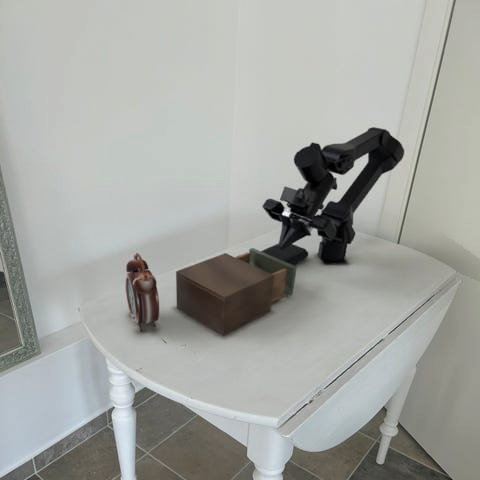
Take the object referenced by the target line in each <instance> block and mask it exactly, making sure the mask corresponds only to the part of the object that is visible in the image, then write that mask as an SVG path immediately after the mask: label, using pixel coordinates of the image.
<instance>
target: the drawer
mask: <svg viewBox="0 0 480 480" xmlns="http://www.w3.org/2000/svg"><path fill="white" fill-rule="evenodd" d="M261 251H262V250H259V249H256V248H253V247H252V248H251V247H250V248H249V252H245V253H242V254H239V255H237V256H234V257H235V258H237V259H239V260H242V261H244V262H246V263H248V264H250V265H253V266H255V267H257V268H259V269H261V270H264V271H266V272H268V273H270V274H272V275H274V278H273V288H272V298H271V303H273V302H275V301H277V300H279V299H281V298H282V297H285V295H286V296H288V297H291V296H293V295H294V288H295V282H296V273H297V266H296V265H295V264H294V265H292V264H289V263H287V262H285V261H282V260H280V259H278V258H275V257H273V256H270V255H268V254H266V253H263V252H261Z"/></svg>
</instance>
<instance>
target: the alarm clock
mask: <svg viewBox="0 0 480 480" xmlns="http://www.w3.org/2000/svg"><path fill="white" fill-rule="evenodd" d="M125 267H126V268H125V271H126V276H125V281H124V283H125V295H126V302H127V306H128V310H129V314H130V317H131V320H132V321H133V322H134V323H135V324H136V325H138V328H139V332H142V331H143V329H142V324H150V323H152V326H153V327H154V328H156V322H157V321H158V320H159V318H160V297H159V291H158V287H157V280H156V278H155V276H154V275H153V273H152V272H151V270H150V269H149V265H148V263H147V261H146V260H144V259H143V258H142V256H141V255H140V254H139V253H137V252H136V253H135V255H133V259H131V260H129V261H128V262H127V263H126V266H125Z"/></svg>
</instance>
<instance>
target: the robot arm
mask: <svg viewBox="0 0 480 480" xmlns="http://www.w3.org/2000/svg"><path fill="white" fill-rule="evenodd" d="M365 155H367V158H368V159H367V163H366V164H365V166H364V167H363V169H362V170H361V171H360V172H359V174H358V175H357V177H356V178H355V179H354V181H352V183H351V184H350V186H349V187H348V189H347V190H346V191H345V193H344V194H343V195H342V196H341V198H340V199H339V200H338V201H334V200H330V201H328V202H327V204H326V205H325V206H324V202H325V200H326V199H327V197H328V195H329V194H330V192H331V191H332V190H335V191H337V190H338V183H337V179H338V178H337V177H335V176H334V175H333V174H337V175H341V176H345V175H346V174H347V173H348V172H349V171H351V170H352V169H353V168H354V166H355V162H356V161H357V160H359V159H360V158H362V157H364V156H365ZM404 155H405V149H404V147H403V145H402V143H401V141H400V140H398V139H397V138H396V137H394V136H392V134H391V133H390V131H389V130H387V129H386V128H381V127H376V126H372V127H369V128H368V129H367V130H366V131H364V132H363V133H361V134H359V135H356V137H354V138H351V139H349V140H348V141H346V142H342V143H330V144H327V145H325V146H324V147H321V145H320V143H317V142H311V143H310V144H309V146H308V145H307V146H304V147H302V148H301V149H300V150H298V151H297V152H296V153H295V155H294V157H293V163H294V165H295V167H296V168H297V170H298V172H299V174H300V175H301V177H302V179H303V180H304V181H305V182H306V183H305V185H304V187H303V188H302V187H299V188H297V189H295V188H292V187H288V186H284V187H283V190H282V193H281V195H280V198H279V200H280V201H279V200H277V199H273V198H267V199H266V200H265V201H264V202H263V204H262V205H261V207H262V209H263V210H264V211H265V212H266V214H267V215H268V216H269V218H271V219H272V220H273V221H277V222H279V223H281V231H280V236H279V240H278V244H279V245H278V248H279V249H280V250H283V249H285V248H287V247H288V246H290V245H291V244H293V245H294V244H295V243H296V242H298V241H299V240H302V239H303V238H305V237H310V236H312V233H311V232H312V231H313V229H316V231H317V236H319V237H321V241H319V246H318V252H317V256H318V258H319V260H320V261H321V262H322V263H323V264H324V265H339V264H342V265H343V264H347V263H348V261H347V260H346V254H347V250H348V249H347V248H348V245H351V244H352V242H353V241H354V240H355V237H356V231H355V230H354V227H353V225H354V214H355V212H356V210H357V209H358V208H359V206H360V205H361V204H362V202H363V201H365V200H364V199H366V197H367V195H368V194H369V193H370V191H372V189H373V188H374V186H375V185H376V184H377V182H378V180H379V179H380V178H381V177H382V176H383V174H386V173H388V172H390V171H392V170H394V169H395V168H396V167H397V165H398V164H399V163H400V162H402V160H403V158H404V157H405V156H404ZM283 202H285V203H286V206H287V208H286V207H285V206H284V205H283ZM288 208H289V209H288ZM319 210H320V214H317V213H318V212H319Z"/></svg>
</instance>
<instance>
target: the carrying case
mask: <svg viewBox="0 0 480 480" xmlns="http://www.w3.org/2000/svg"><path fill="white" fill-rule="evenodd" d="M278 245H279V243H276V244H274V245H272V246H270V247H269V246H268V247H267V248H265V249H263V250H260V251H261V252H263V253H266V254H268V255H270V256H273V257H275V258H278V259H280V260H282V261H285V262H287V263H289V264H292V265H294V266H295V265H297V264H298V263H301V262H303V261H305V259H307V258H308V257H309V252H308V250H307V249H306V248H304V247H302V246H300V245H299V246H298V245H296V244H294V243H293V244H291V245H290V246H288V247H287V248H285V249H283V250H280V249H279V248H278Z"/></svg>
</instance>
